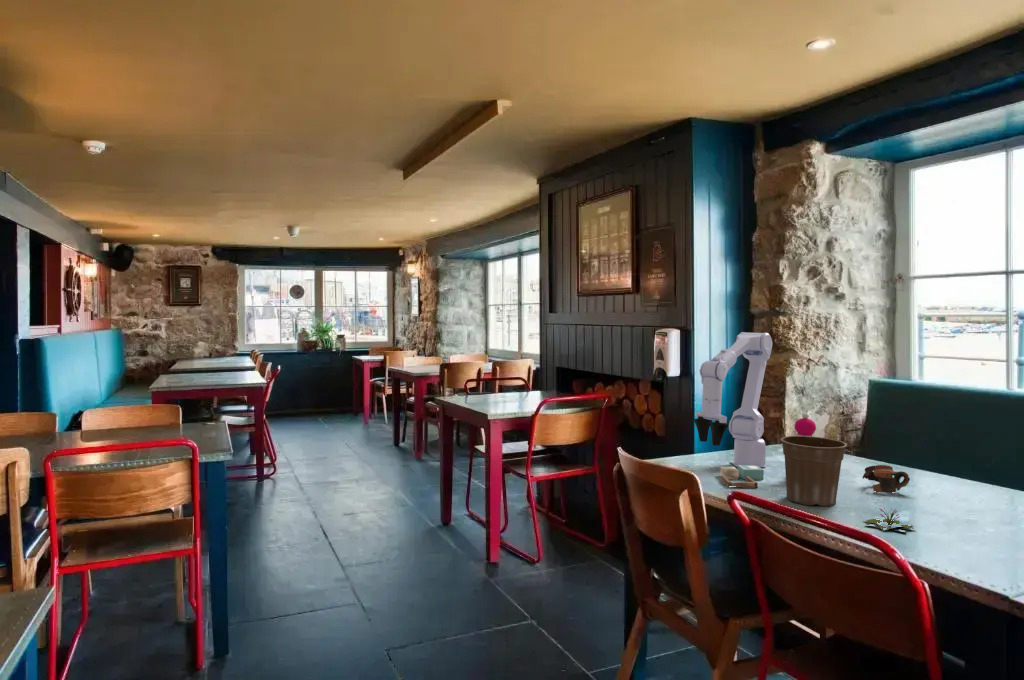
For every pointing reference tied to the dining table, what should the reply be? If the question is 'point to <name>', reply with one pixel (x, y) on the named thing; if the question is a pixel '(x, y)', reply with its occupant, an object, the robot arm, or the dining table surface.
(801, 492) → the plant pot
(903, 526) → the lily flower
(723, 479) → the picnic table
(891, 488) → the pottery mug
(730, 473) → the stub
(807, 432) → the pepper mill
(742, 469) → the teal toy building
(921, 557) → the dining table surface
